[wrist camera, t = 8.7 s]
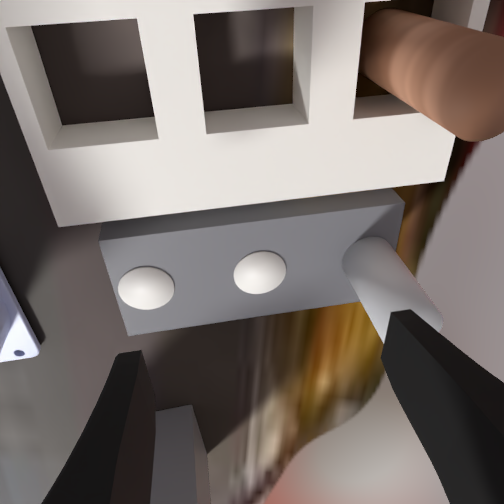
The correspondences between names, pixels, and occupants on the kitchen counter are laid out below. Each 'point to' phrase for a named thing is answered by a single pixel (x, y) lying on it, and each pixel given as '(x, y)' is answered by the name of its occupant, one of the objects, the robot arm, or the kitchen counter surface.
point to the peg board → (220, 116)
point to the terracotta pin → (437, 70)
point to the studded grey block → (263, 262)
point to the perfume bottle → (179, 459)
